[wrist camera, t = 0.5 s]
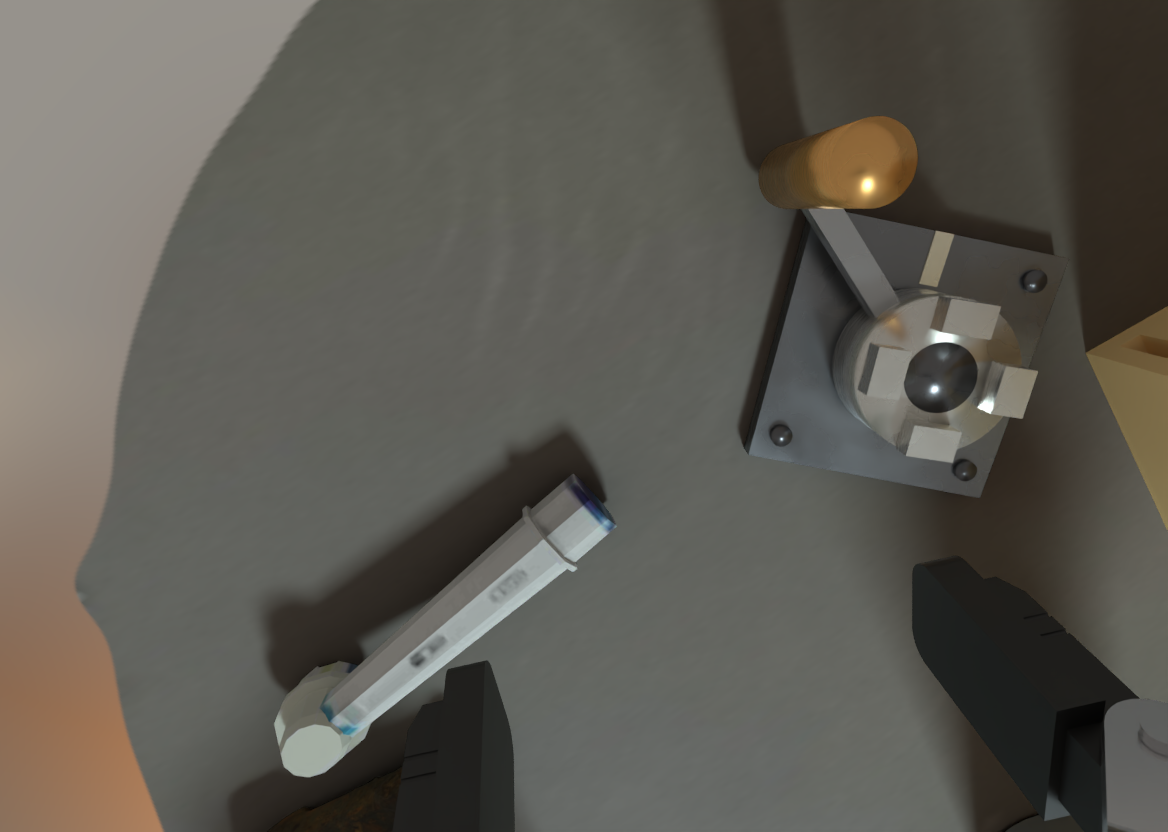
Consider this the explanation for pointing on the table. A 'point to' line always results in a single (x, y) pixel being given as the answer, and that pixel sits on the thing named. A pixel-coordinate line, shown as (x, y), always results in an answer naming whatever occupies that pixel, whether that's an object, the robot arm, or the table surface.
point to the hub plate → (826, 304)
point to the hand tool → (350, 810)
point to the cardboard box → (1140, 396)
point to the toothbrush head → (438, 629)
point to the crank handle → (898, 302)
